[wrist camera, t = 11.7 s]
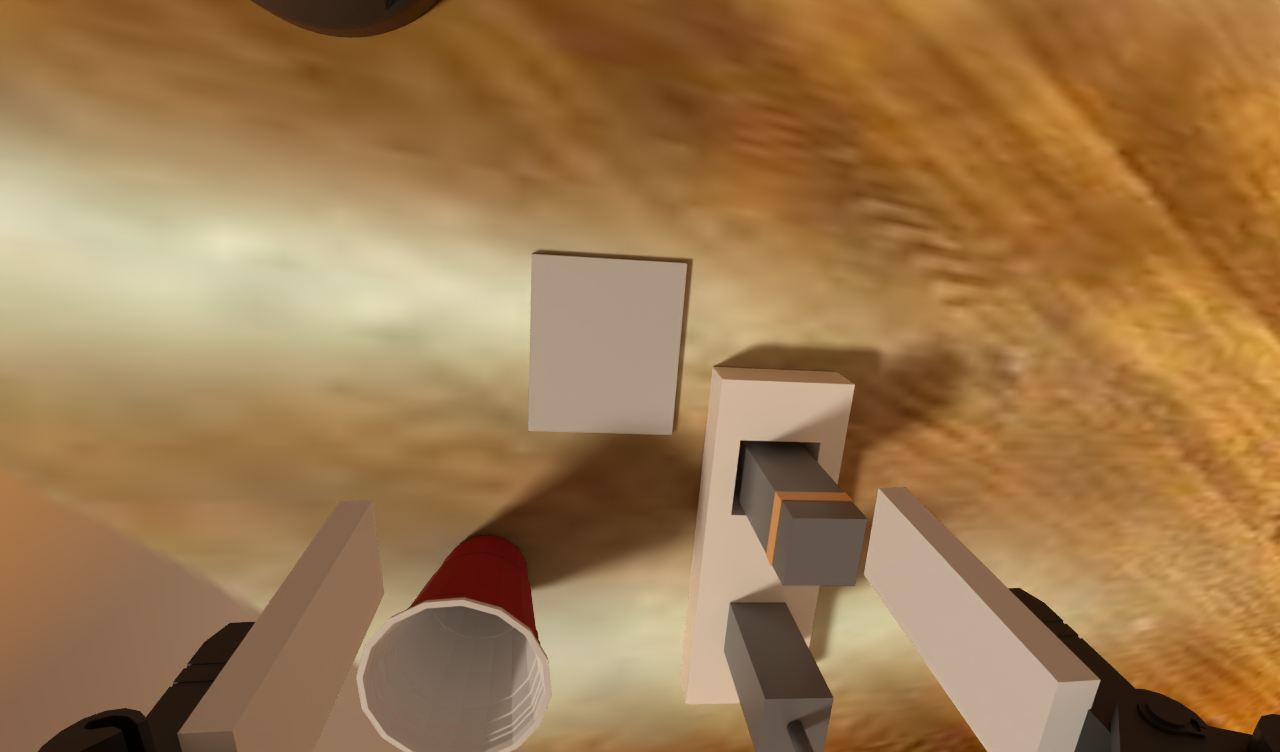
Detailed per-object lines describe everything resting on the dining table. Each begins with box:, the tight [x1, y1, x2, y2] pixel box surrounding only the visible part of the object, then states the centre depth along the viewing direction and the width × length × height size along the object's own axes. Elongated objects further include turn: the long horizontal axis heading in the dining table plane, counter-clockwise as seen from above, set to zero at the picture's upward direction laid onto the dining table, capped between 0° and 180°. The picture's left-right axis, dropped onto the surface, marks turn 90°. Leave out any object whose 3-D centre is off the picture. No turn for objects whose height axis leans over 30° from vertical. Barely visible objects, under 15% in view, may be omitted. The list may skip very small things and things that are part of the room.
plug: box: [734, 440, 868, 586], centre depth 40 cm, size 4×4×12 cm
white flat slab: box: [528, 254, 687, 435], centre depth 42 cm, size 12×10×1 cm
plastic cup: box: [356, 535, 552, 752], centre depth 40 cm, size 11×11×12 cm
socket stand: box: [680, 367, 855, 752], centre depth 40 cm, size 26×9×15 cm, turn 176°
